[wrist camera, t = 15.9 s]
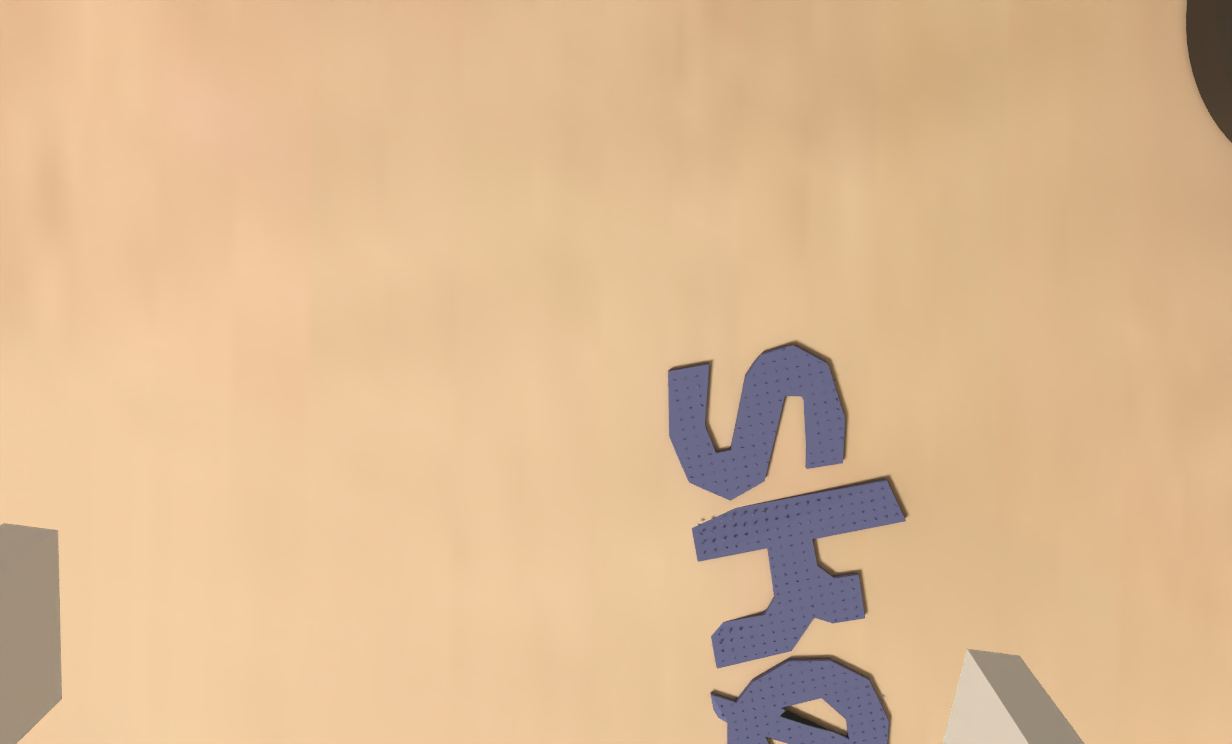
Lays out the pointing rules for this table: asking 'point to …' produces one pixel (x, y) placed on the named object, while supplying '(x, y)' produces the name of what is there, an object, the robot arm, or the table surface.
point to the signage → (782, 547)
